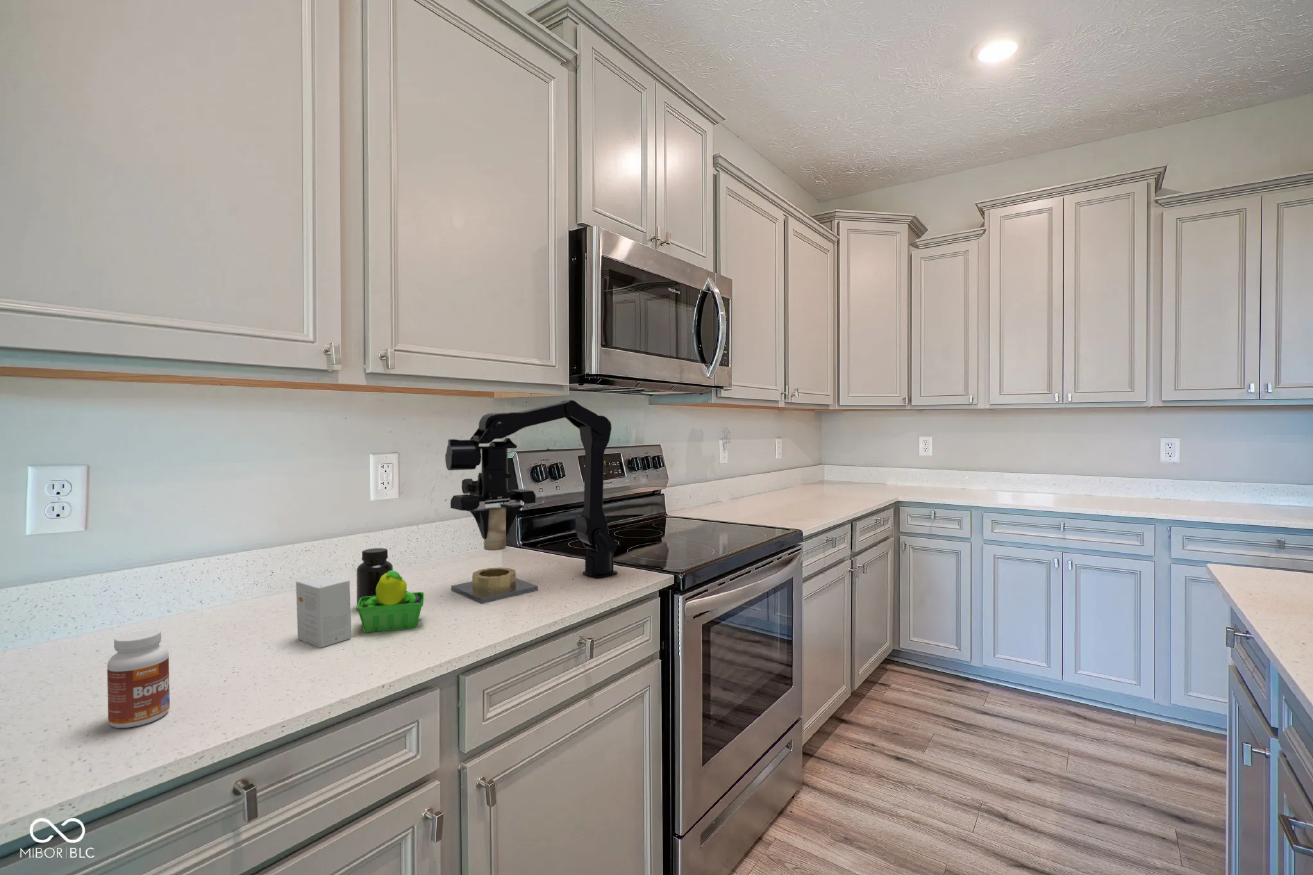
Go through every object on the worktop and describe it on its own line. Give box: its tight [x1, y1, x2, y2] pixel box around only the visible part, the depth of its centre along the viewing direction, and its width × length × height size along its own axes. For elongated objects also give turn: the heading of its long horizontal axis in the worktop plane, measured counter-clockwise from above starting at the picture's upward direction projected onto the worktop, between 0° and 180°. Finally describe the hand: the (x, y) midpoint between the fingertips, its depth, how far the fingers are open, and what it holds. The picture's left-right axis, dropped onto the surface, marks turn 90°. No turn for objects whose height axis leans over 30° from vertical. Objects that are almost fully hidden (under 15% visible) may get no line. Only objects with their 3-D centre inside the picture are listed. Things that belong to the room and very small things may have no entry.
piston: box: [483, 506, 507, 551], centre depth 137 cm, size 5×5×9 cm
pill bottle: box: [106, 628, 171, 729], centre depth 79 cm, size 6×6×11 cm
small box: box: [295, 574, 352, 649], centre depth 108 cm, size 8×6×10 cm
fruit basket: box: [355, 569, 425, 633], centre depth 114 cm, size 11×9×11 cm
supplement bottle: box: [356, 547, 394, 606], centre depth 125 cm, size 7×7×12 cm
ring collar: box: [450, 566, 539, 604], centre depth 138 cm, size 14×14×4 cm
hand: (494, 537), depth 137 cm, fingers closed on piston, 5 cm apart
